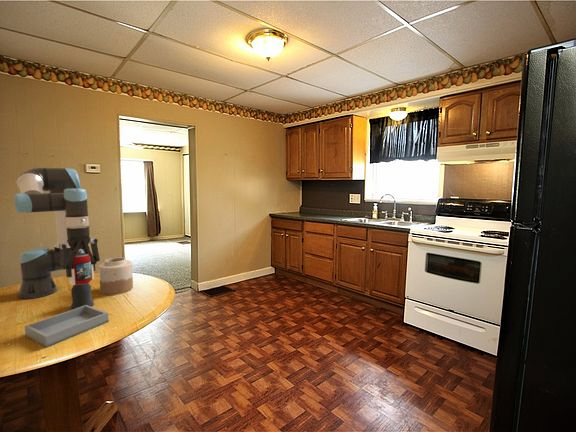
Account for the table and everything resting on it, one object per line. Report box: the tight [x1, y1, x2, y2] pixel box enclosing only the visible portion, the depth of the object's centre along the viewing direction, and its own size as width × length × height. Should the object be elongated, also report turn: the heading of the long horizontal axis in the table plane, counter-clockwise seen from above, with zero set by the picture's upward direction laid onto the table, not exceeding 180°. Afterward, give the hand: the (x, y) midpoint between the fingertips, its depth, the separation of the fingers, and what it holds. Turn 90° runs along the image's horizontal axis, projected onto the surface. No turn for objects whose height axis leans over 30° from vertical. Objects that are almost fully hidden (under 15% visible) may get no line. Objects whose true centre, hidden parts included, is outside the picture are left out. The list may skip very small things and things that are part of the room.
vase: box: [98, 256, 134, 296], centre depth 160 cm, size 15×15×17 cm
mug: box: [70, 282, 95, 310], centre depth 140 cm, size 12×9×11 cm
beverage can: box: [72, 253, 93, 285], centre depth 122 cm, size 7×7×12 cm
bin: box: [24, 305, 110, 348], centre depth 119 cm, size 16×22×4 cm
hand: (82, 281), depth 123 cm, fingers closed on beverage can, 7 cm apart
